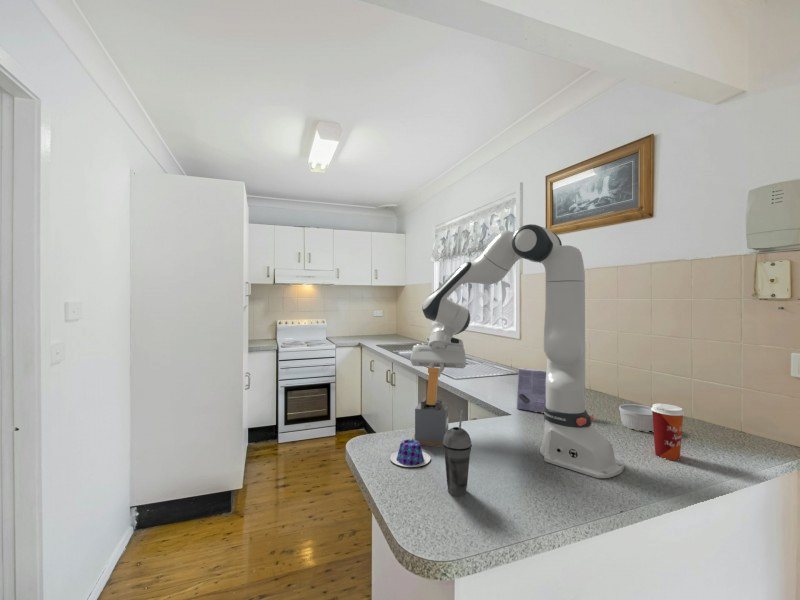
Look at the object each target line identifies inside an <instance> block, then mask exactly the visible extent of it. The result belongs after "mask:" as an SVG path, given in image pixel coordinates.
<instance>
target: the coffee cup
mask: <svg viewBox="0 0 800 600" xmlns="http://www.w3.org/2000/svg"><path fill="white" fill-rule="evenodd" d="M651 407H652V408H651V410H652V415H653V430H654V432H653V438H654V439H653V441H654V442H653V443H654V453H655V455H656V457H658V456H659V458H660V457H662V458H661V459H663V458H666V459H665V460H667V459H670V460H669V461H679V460H680V457H681V450H682V449H681V447H682V436H683V435H682V434H683V422H684V416H685V412H684V411H683V408H682V407H680V406H678V405H673V404H669V403H654V404H652V406H651ZM678 459H679V460H678Z"/></svg>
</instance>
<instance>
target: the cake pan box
mask: <svg viewBox="0 0 800 600" xmlns="http://www.w3.org/2000/svg"><path fill="white" fill-rule="evenodd" d="M546 371H547V370H543V369H534V368H526V367H519V368H518V376H517V377H518V379H517V395H516V396H517V399H516V400H517V401H516V409H517V410H520V409H524V410H523V411H526V410H530V411H529V412H532V411H537V412H543V413H544V406H545V405H546ZM537 412H536V413H537ZM543 413H542V414H543Z"/></svg>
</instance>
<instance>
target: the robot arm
mask: <svg viewBox="0 0 800 600" xmlns="http://www.w3.org/2000/svg"><path fill="white" fill-rule="evenodd" d="M521 259H524V260H528V261H530V262H534V263H539V264H542V265H543V267H544V270H545V271H544V273H545V309H544V310H545V311H544V323H543V324H544V327H543V332H544V333H543V352H544V353H545V356H546V357H547V358H546V370H545V371H546V405H545V406H544V414H543V420H544V430H543V437H542V442H541V445H540V448H539V453H540V454H541V456H543V460H544V462H546V463H549V464H552V465H554V466H558V467H562V468H564V469H568V470H571V471H574V472H578V473H580V474H583V475H587V476H590V477H593V478H595V479H608V478H609V479H610V478H612V477H615V476H618V475H619V474H621V473H623V472H624V470H625V466H624V462H622V461H620V460H619V459H616V458H615V457H616V456H615V453H614V452H615V451H614V447H613V445H612V443H611V442H610V441H609V440H608V439H607V438H606V436H604V435H603V434H602V433H601V432H600V431H598V429H597V428H596V427H595V426H593V425H592V420H594V419H595V418H594V417H595V415H594V414H592V415H589V414H588V411H587V410H586V274H585V265H584V260H583V255H582V252H581V250H580V249H579V248H577V247H576V246H572V245H562V241H561V238H560V237H559V235H557V234H556V233H554V232H552V231H551V230H550V229H548V228H546V227H543V226H541V225H537V224H524V225H522V226H520V227H518V228H517V230H516V231H514V232H513V231H509V230H504V231H502V232H500V233H499V234H497V236H495V237H494V238H493V239H492V240H491V242H489V244H488V245H487V247H486V248H485V249H484V250H483V252H482V253H481V254H480V256H478V257H476V258H475V259H474V260H472V261H465V262H464V263H462V264H461V265H460V266H458V268H456V270H454V272H452V274H450V276H449V277H448V278H447V279H446V280H445V281H444V282H442V283H441V285H440V286H438V288H437V289H435V291H433V292H432V293H430V295H428V296H427V297H426V298H425V300H424V302H423V304H422V308H421V310H422V313H423V315H424V317H425V318H426V319H428V320H429V321H432V323H431V328H430V331H431V333H430V335H429V341H428V343H417V344H415V345H413V346H412V349H411V351H412V352H411V354H410V359H409V360H410V363H411V365H412V366H413V367H430V368H439V369H440V373H439V374H438V378H440V377H441V373H443V372H444V370H445V368H449V369H451V368H452V369H464V368H465V367H466V365H467V360H466V352H465V348H464V342H463V340H462V339H460V338H457V337H454V336H457V335H459V334H460V333H463V332H465V330H466V331H467V329H468V328H469V325H470V321H471V313H470V311H469V309H467V308H466V307H464V306H462V305H460V304H459V303H457V302H454V301H453V300H450V299H448V298H449V296H450V297H451V294H453V293H454V291H456V290H457V289H458V288H459V287H460V286H461V285H463V284H466V283H467V284H468V283H472V284H480V285H481V284H482V285H494V284H497V283H499V282H501V281H502V280H503V279H504V278H505V277H506V276H507V274H508V272H510V270H511V269H512V268H513V266H514V265H515V264H516V263H517V262H518V261H519V260H521Z"/></svg>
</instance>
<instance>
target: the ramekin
mask: <svg viewBox="0 0 800 600" xmlns="http://www.w3.org/2000/svg"><path fill="white" fill-rule="evenodd" d="M651 408H652V406H649V405H643V404H634V403H632V404H631V403H629V404H628V403H625V404H621V405H619V408H618V410H619V412H620V413H619V414H620V419H621V423H622V426H624V427H625V426H626V427H628V428H627V429H629V428H631V429H635V430H640V431H654V430H653V415H652V410H651ZM626 427H625V428H626ZM631 429H630V430H631ZM635 430H634V431H635ZM640 431H639V432H640Z"/></svg>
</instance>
